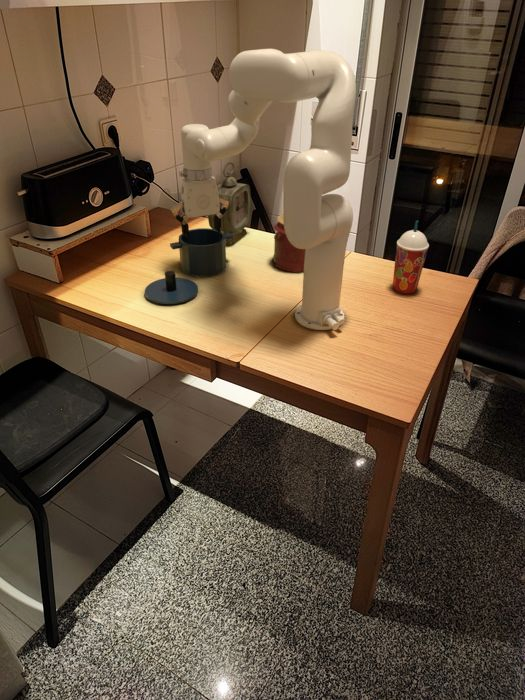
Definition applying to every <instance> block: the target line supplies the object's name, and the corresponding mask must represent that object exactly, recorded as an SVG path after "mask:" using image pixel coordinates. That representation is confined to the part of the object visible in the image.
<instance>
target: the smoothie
mask: <svg viewBox="0 0 525 700" xmlns="http://www.w3.org/2000/svg"><path fill="white" fill-rule="evenodd" d="M414 223H415V224H414V228H413V229H411V230H407V231H405V232H404V233H403V234H402V235H400V238H399V239H397V241H396V248H395V259H394V268H393V278H392V285H393V288H394V290H395V291H397V292H399V293H401V294H411V293H414V292H415V291H416V289H417V288H418V286H419V282H420V279H421V276H422V272H423V268H424V264H425V260H426V257H427V254H428V250H429V247H430V244H429V242H428V239H427V237H426V235H425V234H424V233H423V232H421V231H420V230H418V225H419V220H416V221H415V222H414Z"/></svg>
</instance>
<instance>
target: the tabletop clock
mask: <svg viewBox="0 0 525 700" xmlns="http://www.w3.org/2000/svg"><path fill="white" fill-rule="evenodd" d="M229 165H232V170H231V171H229V170H228V171H227V172H226V173H225V171H226V168H227V167H228V166H229ZM234 171H235V164H234V162H233V161H228V162H226V163H225V165H224V167H223V170H222V175H223V176H224V178H222V180H221V183H220V184H218V185H217V189H218V195H219V197H221V198H223V199H226V200H227V201H229V205H228V207H227V209H226V212H225V213H224V214H223V217H222V218H221V228H220V231H221V232H222V233H223V234H226V233H231V234H232V235H237V234H238V233H240V232H241V233H242V234H247V229H246V227H247V226H248V225H249V223H250V221H251V214H252V213H251V212H252V195H251V187H250V185H249V184H247V183H240V182H238V181H237V179H236V178H235V177H233V176H232V175H233V173H234ZM219 204H220V208H221V207H222V203H220V202H219ZM214 216H215V214H214V215H208V216H207V221H208V225H209V227H210V229H214ZM232 244H233V240H232V239H228V240H227V243H226V245H228V246H231V245H232Z"/></svg>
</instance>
